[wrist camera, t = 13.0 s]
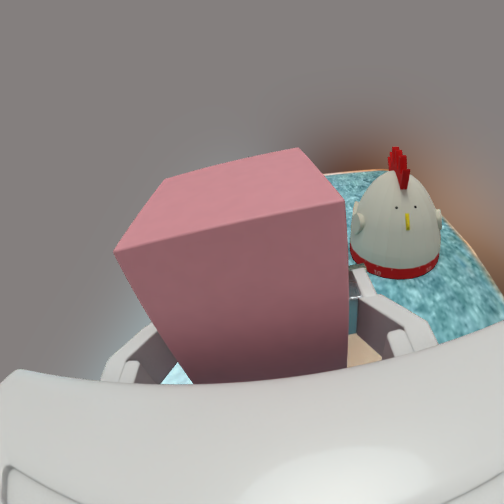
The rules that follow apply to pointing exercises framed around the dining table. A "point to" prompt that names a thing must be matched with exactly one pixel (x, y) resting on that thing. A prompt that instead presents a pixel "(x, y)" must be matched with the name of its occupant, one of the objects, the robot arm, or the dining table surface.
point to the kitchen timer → (396, 225)
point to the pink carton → (245, 269)
